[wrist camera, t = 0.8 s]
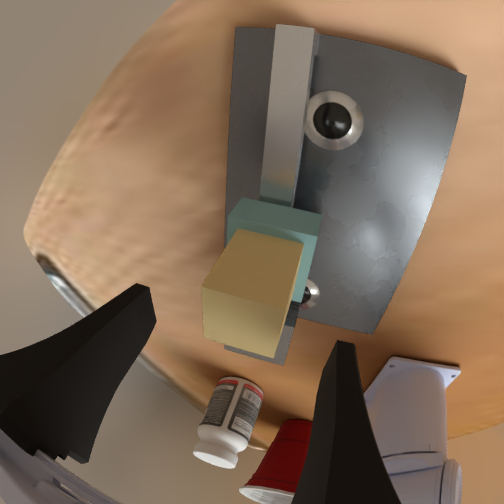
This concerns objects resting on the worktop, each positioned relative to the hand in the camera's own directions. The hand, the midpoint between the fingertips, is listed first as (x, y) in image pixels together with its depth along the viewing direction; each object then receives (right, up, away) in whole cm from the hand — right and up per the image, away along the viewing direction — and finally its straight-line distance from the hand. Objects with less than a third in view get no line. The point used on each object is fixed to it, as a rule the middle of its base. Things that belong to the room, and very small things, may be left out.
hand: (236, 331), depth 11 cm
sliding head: (+3, +5, +7) cm, 9 cm away
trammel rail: (+3, +6, +7) cm, 9 cm away
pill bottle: (-1, -13, +23) cm, 27 cm away
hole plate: (+5, +6, +7) cm, 10 cm away
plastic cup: (+7, -21, +26) cm, 34 cm away
